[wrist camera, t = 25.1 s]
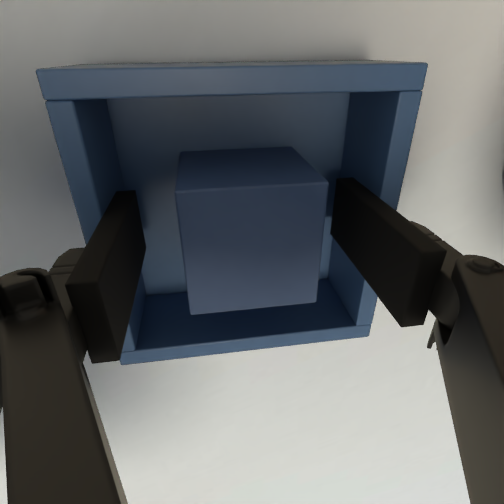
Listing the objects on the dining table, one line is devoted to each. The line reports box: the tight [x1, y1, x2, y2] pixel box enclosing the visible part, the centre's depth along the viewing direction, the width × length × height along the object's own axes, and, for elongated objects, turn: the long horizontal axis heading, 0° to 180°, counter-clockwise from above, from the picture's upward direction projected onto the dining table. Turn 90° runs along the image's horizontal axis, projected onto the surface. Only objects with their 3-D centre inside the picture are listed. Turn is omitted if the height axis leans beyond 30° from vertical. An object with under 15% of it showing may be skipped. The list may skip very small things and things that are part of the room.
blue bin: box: [36, 60, 428, 365], centre depth 15 cm, size 12×12×5 cm
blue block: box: [174, 147, 329, 315], centre depth 14 cm, size 5×5×5 cm
